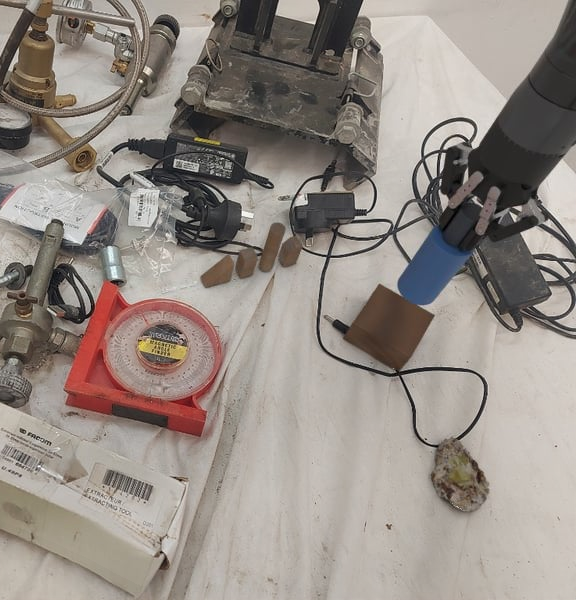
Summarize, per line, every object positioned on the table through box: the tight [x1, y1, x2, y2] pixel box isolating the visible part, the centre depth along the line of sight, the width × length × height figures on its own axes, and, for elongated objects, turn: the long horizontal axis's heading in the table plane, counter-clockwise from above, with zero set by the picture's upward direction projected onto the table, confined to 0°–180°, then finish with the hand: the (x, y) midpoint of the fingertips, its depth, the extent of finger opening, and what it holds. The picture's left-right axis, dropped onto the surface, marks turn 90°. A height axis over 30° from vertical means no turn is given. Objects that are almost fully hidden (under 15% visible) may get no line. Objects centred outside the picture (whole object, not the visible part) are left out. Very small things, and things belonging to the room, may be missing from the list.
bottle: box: [396, 201, 483, 306], centre depth 75 cm, size 6×6×16 cm
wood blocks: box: [161, 221, 304, 294], centre depth 96 cm, size 25×3×10 cm, turn 111°
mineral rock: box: [430, 436, 491, 513], centre depth 82 cm, size 11×4×8 cm
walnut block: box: [343, 283, 436, 372], centre depth 94 cm, size 10×10×5 cm
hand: (455, 237), depth 72 cm, fingers closed on bottle, 3 cm apart
